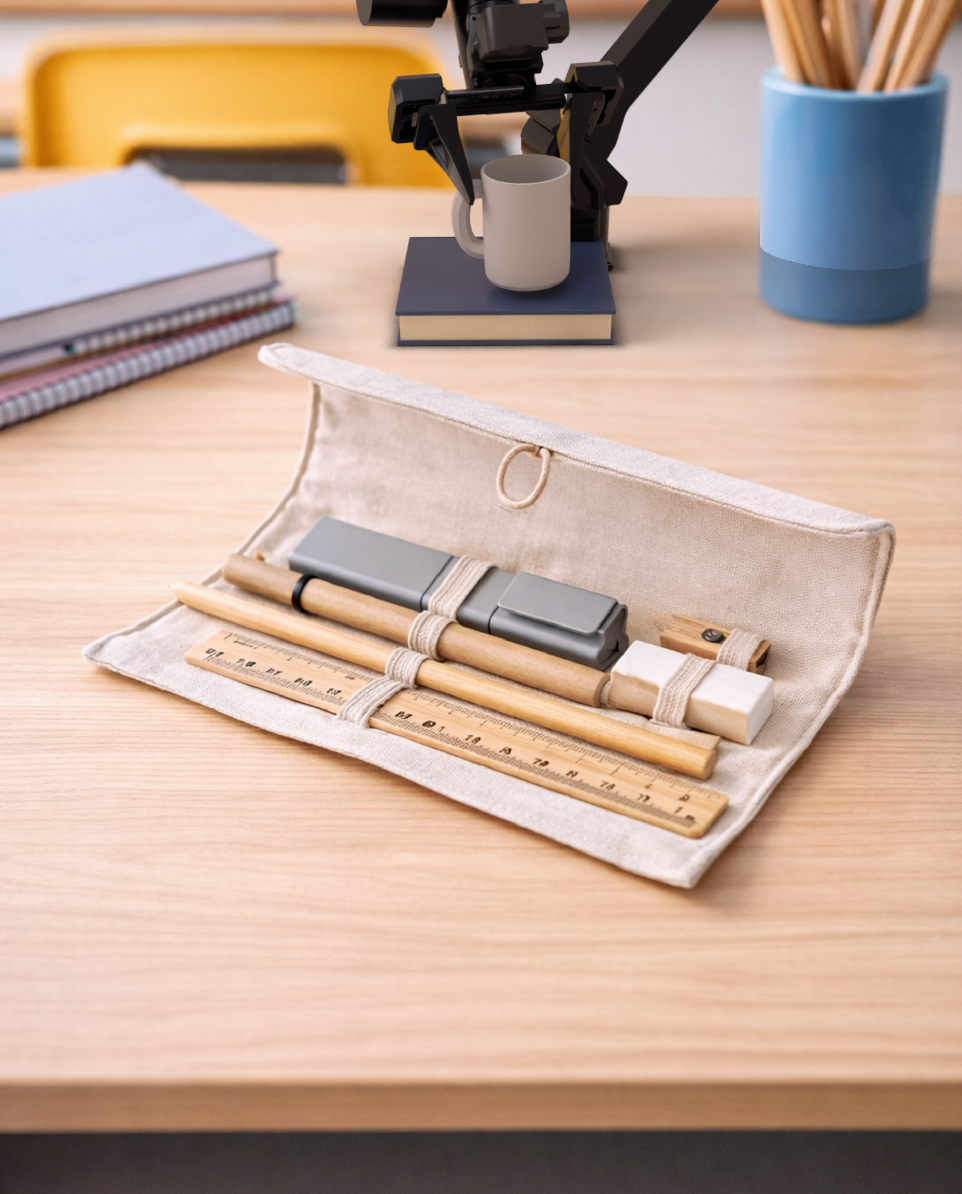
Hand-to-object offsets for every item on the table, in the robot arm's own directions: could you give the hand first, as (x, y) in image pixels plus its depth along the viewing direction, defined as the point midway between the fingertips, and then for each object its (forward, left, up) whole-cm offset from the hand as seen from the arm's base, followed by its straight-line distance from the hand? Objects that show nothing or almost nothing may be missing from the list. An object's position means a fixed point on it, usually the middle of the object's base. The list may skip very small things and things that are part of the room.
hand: (522, 198), depth 96 cm
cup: (-2, -1, -7) cm, 7 cm away
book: (-5, -1, -11) cm, 12 cm away
